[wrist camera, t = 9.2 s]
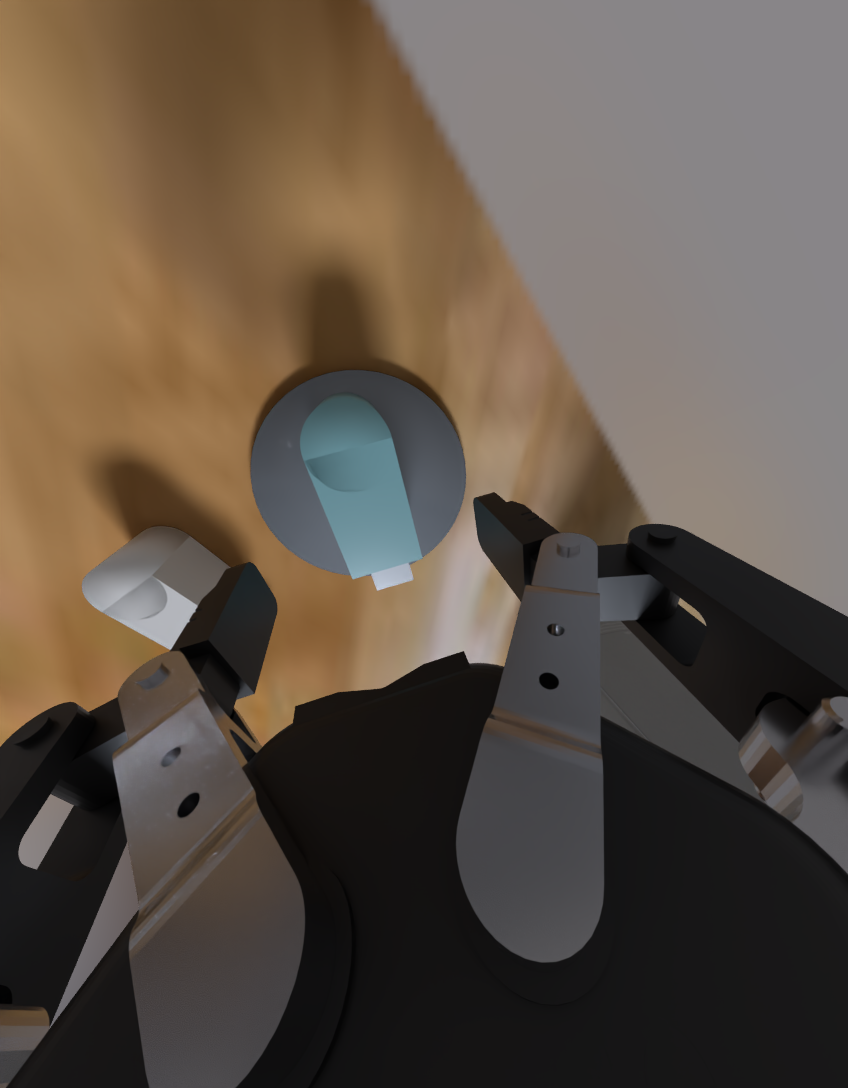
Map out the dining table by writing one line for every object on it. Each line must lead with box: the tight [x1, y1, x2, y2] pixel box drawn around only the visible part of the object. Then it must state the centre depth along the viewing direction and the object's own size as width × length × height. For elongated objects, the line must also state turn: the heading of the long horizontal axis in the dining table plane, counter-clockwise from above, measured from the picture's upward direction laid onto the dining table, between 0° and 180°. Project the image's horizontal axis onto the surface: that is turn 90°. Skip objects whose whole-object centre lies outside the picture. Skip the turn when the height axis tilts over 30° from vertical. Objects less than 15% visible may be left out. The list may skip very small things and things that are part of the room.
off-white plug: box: [82, 526, 231, 650], centre depth 17 cm, size 9×3×4 cm, turn 32°
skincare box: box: [600, 621, 768, 805], centre depth 21 cm, size 8×7×16 cm
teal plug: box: [300, 392, 423, 590], centre depth 16 cm, size 10×4×4 cm, turn 12°
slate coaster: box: [251, 370, 466, 576], centre depth 18 cm, size 12×12×1 cm
